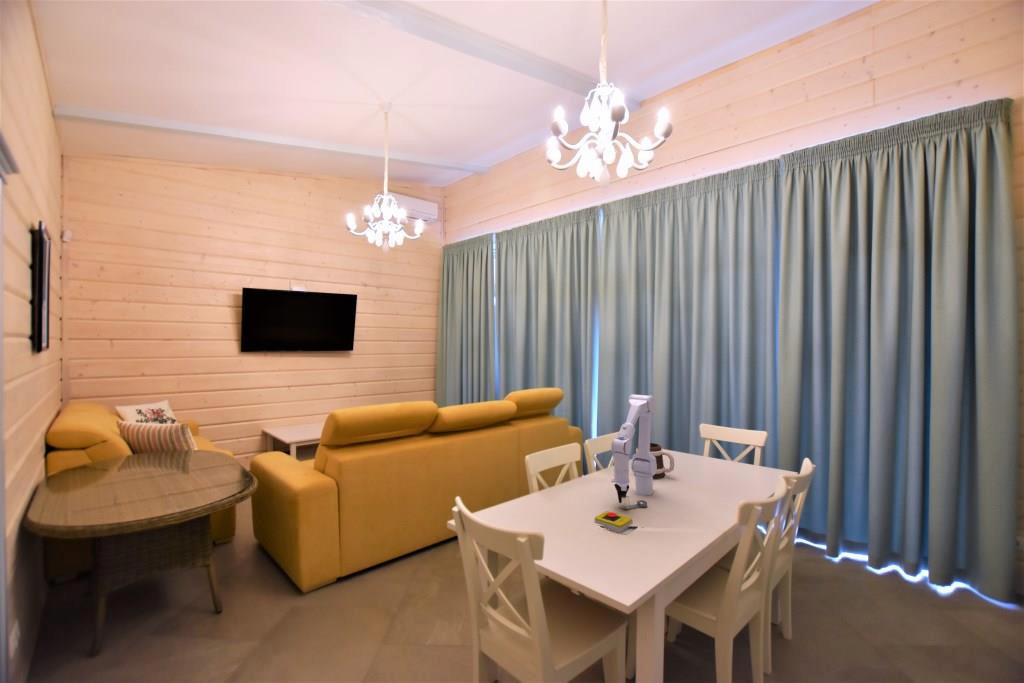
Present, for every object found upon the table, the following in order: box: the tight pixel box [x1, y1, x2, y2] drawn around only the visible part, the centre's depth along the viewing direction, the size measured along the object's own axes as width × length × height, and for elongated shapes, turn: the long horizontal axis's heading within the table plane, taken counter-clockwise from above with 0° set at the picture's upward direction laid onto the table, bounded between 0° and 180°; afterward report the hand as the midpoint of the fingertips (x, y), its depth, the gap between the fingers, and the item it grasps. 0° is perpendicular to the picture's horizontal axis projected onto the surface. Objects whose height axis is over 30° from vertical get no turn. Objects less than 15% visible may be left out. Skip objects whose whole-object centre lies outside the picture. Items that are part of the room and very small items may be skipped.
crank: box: [621, 495, 648, 511], centre depth 184 cm, size 12×4×5 cm, turn 113°
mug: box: [635, 442, 675, 480], centre depth 229 cm, size 20×15×15 cm
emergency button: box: [594, 510, 639, 536], centre depth 171 cm, size 9×4×15 cm
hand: (621, 502), depth 185 cm, fingers closed
